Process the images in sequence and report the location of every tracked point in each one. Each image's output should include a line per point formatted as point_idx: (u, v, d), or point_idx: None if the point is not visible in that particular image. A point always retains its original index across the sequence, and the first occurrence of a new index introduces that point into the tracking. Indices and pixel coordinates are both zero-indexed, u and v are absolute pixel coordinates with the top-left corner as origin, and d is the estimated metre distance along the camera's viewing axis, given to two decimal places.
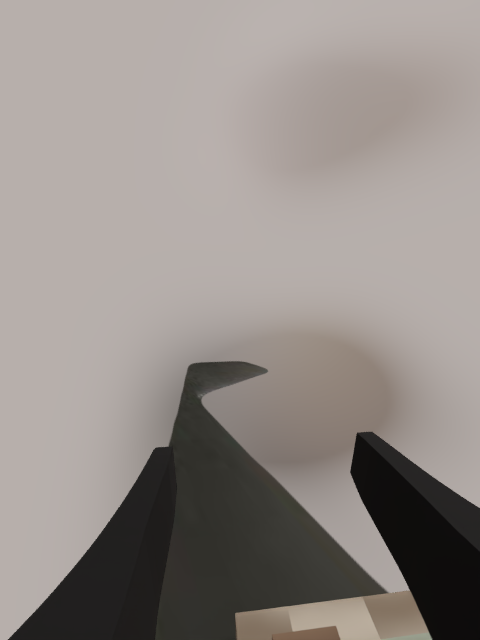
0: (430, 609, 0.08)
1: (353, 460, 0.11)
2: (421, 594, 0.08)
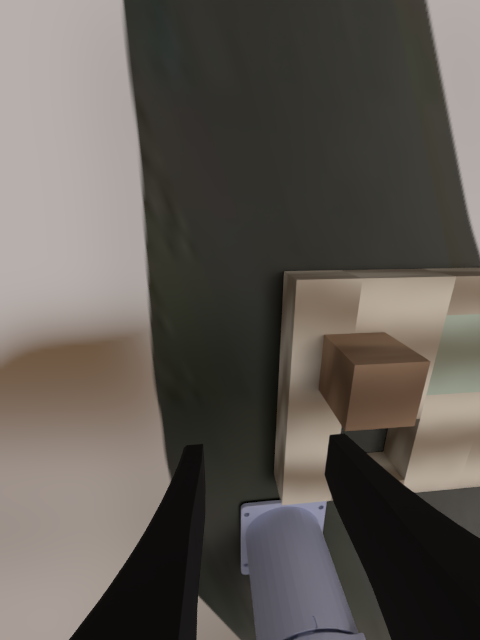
0: (392, 614, 0.07)
1: (326, 462, 0.11)
2: (384, 599, 0.08)
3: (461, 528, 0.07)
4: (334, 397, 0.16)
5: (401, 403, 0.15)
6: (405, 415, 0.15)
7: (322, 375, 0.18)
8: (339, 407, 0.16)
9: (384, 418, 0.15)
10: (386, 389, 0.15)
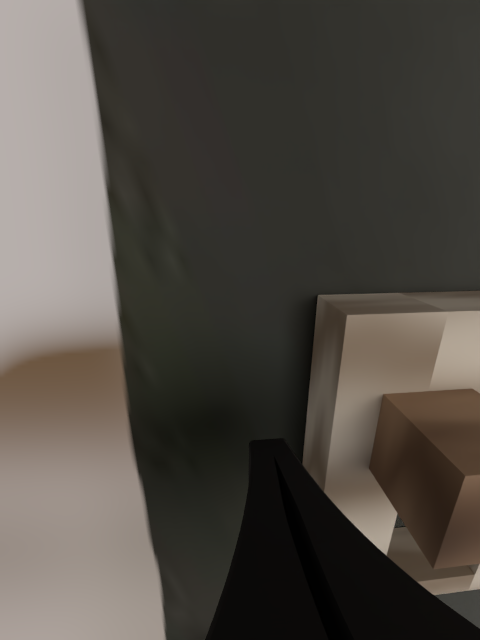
0: None
1: None
2: None
3: (364, 539, 0.06)
4: (406, 500, 0.10)
5: None
6: None
7: (378, 452, 0.12)
8: (417, 522, 0.10)
9: None
10: None
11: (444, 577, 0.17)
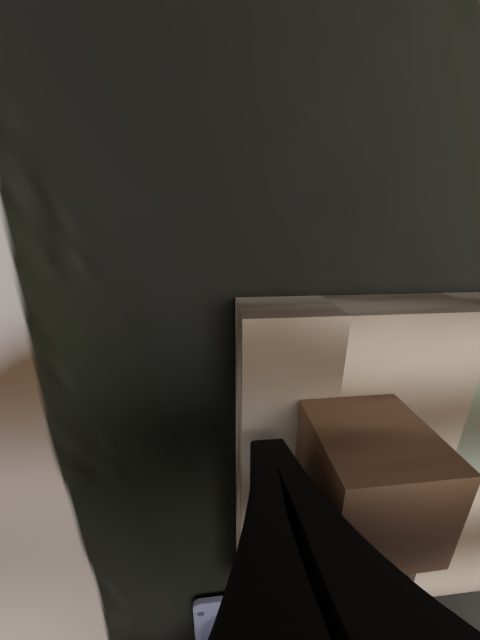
0: None
1: None
2: None
3: (362, 539, 0.06)
4: None
5: (427, 541, 0.09)
6: (433, 556, 0.09)
7: (298, 460, 0.12)
8: None
9: (397, 563, 0.09)
10: (402, 523, 0.08)
11: None
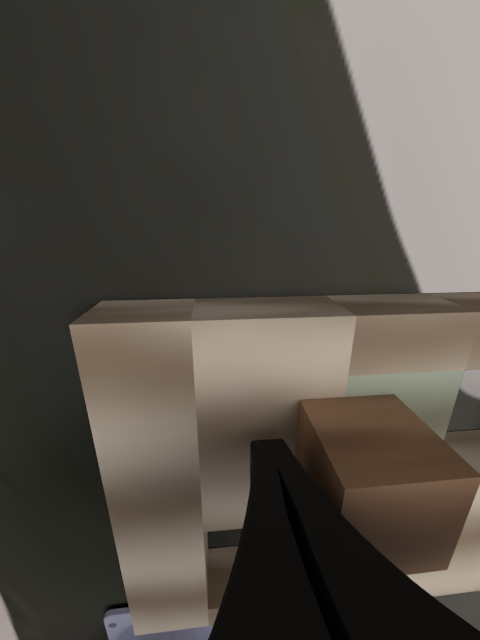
0: None
1: None
2: None
3: (362, 539, 0.06)
4: None
5: (426, 541, 0.09)
6: (432, 556, 0.09)
7: (298, 460, 0.12)
8: None
9: (397, 563, 0.09)
10: (401, 523, 0.08)
11: None
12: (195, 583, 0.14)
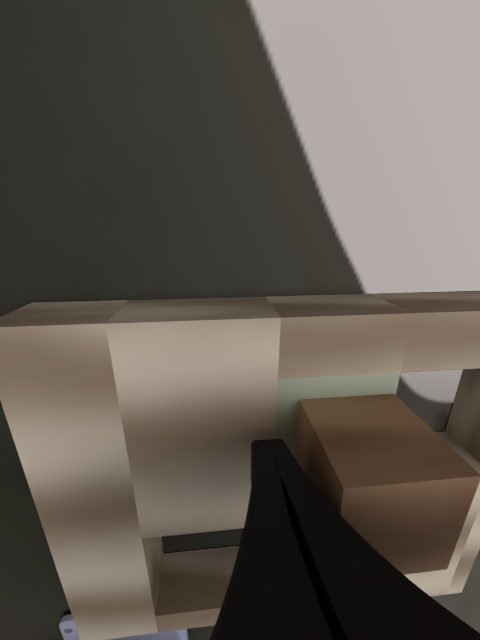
0: None
1: None
2: None
3: (361, 539, 0.06)
4: None
5: (426, 540, 0.09)
6: (432, 556, 0.09)
7: (297, 460, 0.12)
8: None
9: (396, 562, 0.09)
10: (401, 522, 0.08)
11: None
12: (139, 590, 0.14)
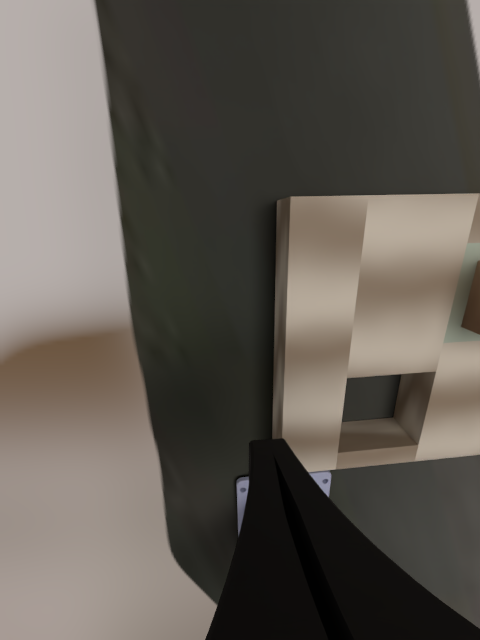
0: None
1: None
2: None
3: (365, 539, 0.06)
4: None
5: None
6: None
7: (472, 308, 0.16)
8: None
9: None
10: None
11: (393, 447, 0.20)
12: (333, 427, 0.19)
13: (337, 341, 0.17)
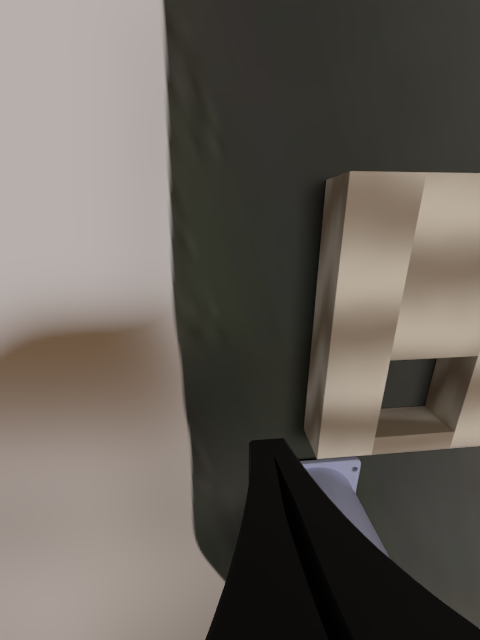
0: None
1: None
2: None
3: (364, 539, 0.06)
4: None
5: None
6: None
7: None
8: None
9: None
10: None
11: (429, 433, 0.20)
12: (372, 410, 0.19)
13: (383, 322, 0.17)
